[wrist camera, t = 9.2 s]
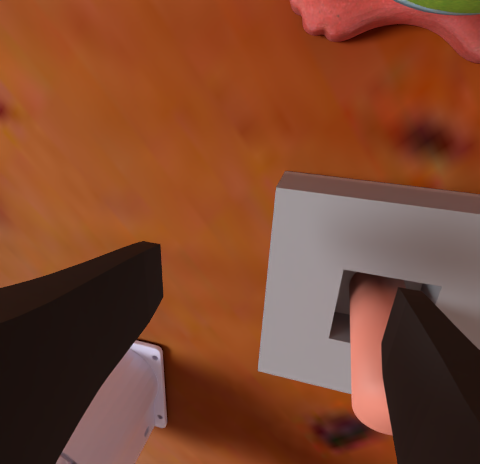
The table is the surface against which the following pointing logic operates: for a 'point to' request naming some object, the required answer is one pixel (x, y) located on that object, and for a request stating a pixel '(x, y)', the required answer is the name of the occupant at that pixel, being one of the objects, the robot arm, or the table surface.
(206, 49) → the table surface
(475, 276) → the socket block
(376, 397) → the peg
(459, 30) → the stacking bear
